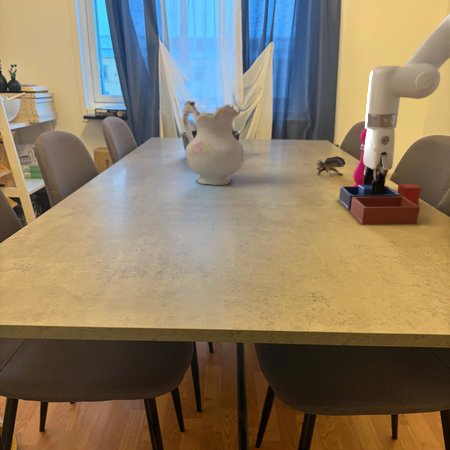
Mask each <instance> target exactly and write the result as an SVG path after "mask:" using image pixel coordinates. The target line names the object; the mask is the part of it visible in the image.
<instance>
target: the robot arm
mask: <svg viewBox="0 0 450 450" xmlns="http://www.w3.org/2000/svg"><path fill="white" fill-rule="evenodd" d="M449 59H450V13H449V14H448V15H447V16H446V17H444V19H443V20H442V21H441V22H440V23H439V25H438V26H437V27H436V28H435V29H434V30H433V31H432V32H431V33H430V34H429V36H428V37H427V38H426V39H425V40H424V41H423V42H422V43H421V44H420V45H419V46H418V48H417V49H416V50H415V52H414V53H413V54H412V55H411V56H410V58H409V59H408V60H407V61H406V63H405V64H403V66H400V65H383V66H380V65H379V66H375V67H373V68H372V69H371V71H370V73H369V82H368V91H367V100H366V101H367V102H366V112H365V121H364V129H365V128H366V129H367V134H366V140H365V147H364V156H363V162H364V164H365V166H364V167H365V170H364V180H363V185H372V187H371V195H381V194H384V187H385V186H386V185H385V184H386V181H387V175H388V173H389V171H390V170H391V169H392V168H393V164H394V156H395V155H394V153H395V140H396V139H395V138H396V136H395V135H396V134H395V129H396V128H397V122H398V116H399V107H400V101H401V98H405V99H415V100H421V99H425V98H427V97H430V96H431V95H432V94H434V92H436V90H437V89H438V87H439V85H440V83H441V74H440V71H439V70H440V68H441V67H442V66H444V64H445V63H446V62H447V61H448V60H449ZM377 172H378V175H377Z"/></svg>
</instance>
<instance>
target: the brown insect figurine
mask: <svg viewBox="0 0 450 450" xmlns="http://www.w3.org/2000/svg"><path fill="white" fill-rule="evenodd" d="M315 164H316V165H317V167H316V170H317V175H318V176H319V175H321V173H322V172H324V171H325V172H326V173H327V174H328V175H329V177H331V176H332V172H335V173H337V174H339V175H342V176H343V173H341V172H340V171H339V170H338V169H337V168H344V167H345V165H346V164H347V163H346V160H345V159H344V158H343V157H341V156H337V155H335V156H331V157H327V158H326V159H325V160H324V162H323V161H322V160H321V159H317V161H316V163H315Z"/></svg>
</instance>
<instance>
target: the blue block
mask: <svg viewBox="0 0 450 450" xmlns="http://www.w3.org/2000/svg"><path fill="white" fill-rule="evenodd" d="M371 187H372V185H359V190H358V195H371Z"/></svg>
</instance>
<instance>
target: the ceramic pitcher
mask: <svg viewBox="0 0 450 450" xmlns="http://www.w3.org/2000/svg"><path fill="white" fill-rule="evenodd" d="M183 104H184V106H183V109H182V117H181V118H182V119H181V120H182V127H183V131H184V132H185V133H186V136H187V137H188V139H189V141H190V143H189V144H188V146H187V147H186V151H185V160H186V163H187V166H189V168H190V170H191V171H192V172H193V173H194V174H196V175H197V176H199V179H198V180H197V182H198V183H199V184H202V185H203V184H204V185H213V186H227V185H229V184H230V183H231V182H232V177H231V175H233V174H235V173H237V172H238V171H239V169H240V168H241V166H242V164H243V162H244V154H245V150H244V146H243V144H242V143H241V141H240V140H239V141H238V140H236V139H235V138H234V136H233V134H232V126H233V123H234V119H235V118H237V117H238V116H239V115H240V114H241V108H240V106H239V104H235V106H234V105H232V106H231V104H225V105H223V106H220V107H217V108H215V111H214V112H213V113H212V112H211V113H210V112H200V111H198V110H197V107H196V106H195V105H196V101H193V100H192V101H190V100H188V101H187V100H186V101H185V103H183ZM190 114H192V117H193V119H194V122H195V126H196V130H197V135H196V137H195V138H193V135H192V131H193V130H192V129H191V127H190V125H189V115H190Z"/></svg>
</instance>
